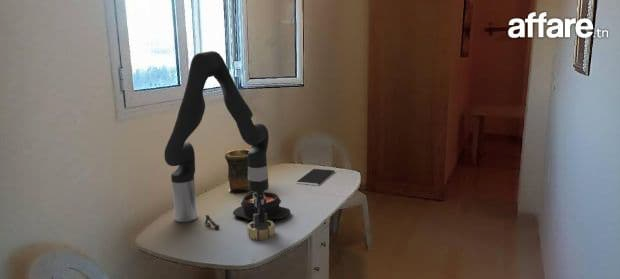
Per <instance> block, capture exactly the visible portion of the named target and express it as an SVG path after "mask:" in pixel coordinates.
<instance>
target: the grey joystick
mask: <svg viewBox="0 0 620 279" xmlns="http://www.w3.org/2000/svg"><path fill="white" fill-rule="evenodd" d="M252 221H254V224H253V228H255V229H263V228H267V227H269V224H268V221H267V213H265V222H264V223H259V216H258V213H255V214H253V220H252Z"/></svg>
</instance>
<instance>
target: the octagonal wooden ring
mask: <svg viewBox="0 0 620 279" xmlns="http://www.w3.org/2000/svg"><path fill="white" fill-rule="evenodd" d="M267 221H268V224H269V227H267V228H263V229H255V228H253V224H254V221H253V220H251V221H250V222H249V223H247V225H246V229H247V236H248V238H249V240H252V241H253V240H255V241H264V240H269V239H271V238H272V237H274V236H275V234H276V230H275V223H274V222H273V220H270V219H269V220H267Z"/></svg>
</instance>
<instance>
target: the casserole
mask: <svg viewBox="0 0 620 279" xmlns="http://www.w3.org/2000/svg"><path fill="white" fill-rule="evenodd" d="M263 193H264V195H265V199H266V213H267V220H269V221H270V220H279V219H284V218H286V217H288V216H289V215H290V214H291V209H290V208H288V207H282V206H280V204H281V203H282V200H281V199H280V197H279V195H278V194H276V193H274V192H269V191H268V192H267V191H264V192H263ZM240 205H241V206H239V207H236V208H235V209H234V210H233V211H232V215H233V216H236V217H241V218H243V219H245V220H249V221H253V214H255V213H256V208H255V205H254V198H253V192H251V193H248V194H246V195H245V196H243V198H242V201H241V203H240ZM261 210H263V209H261Z"/></svg>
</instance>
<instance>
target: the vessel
mask: <svg viewBox="0 0 620 279" xmlns="http://www.w3.org/2000/svg"><path fill="white" fill-rule="evenodd" d="M250 150H251V149H246V148H245V149H234V150H229V151H227V152H225V154H224V158H225V160H226V163H227V165H228V166H227V167H228V175H227V177H228V179H227V180H228V182H229V183H228V184H229V189H228V193H229V194H232V195H239V196H242V195H249V194H252V193H253V192H252V191H250V190H249V186H248V152H249V151H250Z"/></svg>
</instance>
